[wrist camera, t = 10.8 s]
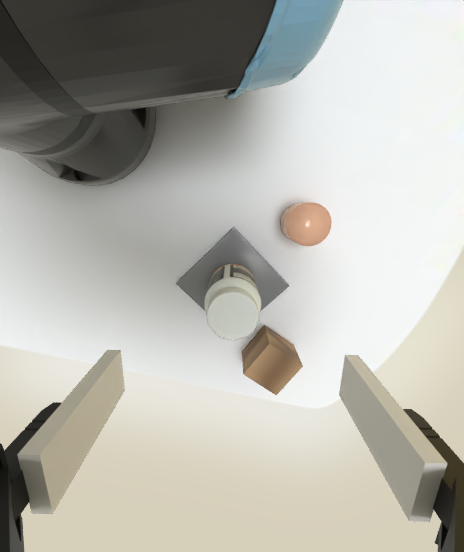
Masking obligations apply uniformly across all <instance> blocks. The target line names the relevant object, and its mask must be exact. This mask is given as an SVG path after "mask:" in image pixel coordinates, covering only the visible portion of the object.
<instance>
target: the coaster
mask: <svg viewBox="0 0 464 552" xmlns="http://www.w3.org/2000/svg"><path fill="white" fill-rule="evenodd" d="M227 264H238V265H241V266H243V267H245V268H247V269H248V270H249V271H250V272H251V274H252V275H253V277H254V279H255V282H256V286H257V289H258V292H259V295H260V298H261V310H262V309H263V308H264V307H266V306H267V305H268V304H269V303H270V302H271V301H273V300H274V299H275V298H276V297H277V296H278V295H279V294H281V293H282V292H283V291H284V290H285V289H286V288H287V287H289V285H288V284H287V283H286V281H285V280H284V279H283V278H282V277H281V276H280V275H279V274H278V273H277V272H276V271H275V270H274V269H273V268H272V267H271V266H270V265H269V264H268V262H267V261H266V260H265V259H264V258H263V257H262V256H261V255H260V254H259V253H258V252H257V251H256V250H255V249H254V248H253V247H252V246H251V245H250V244H249V242H248V241H247V240H246V239H245V238H244V237H243V236H242V235H241V234H240V233H239V232H238V231H237V230H236V229H235V228H233V229H232V230H230V231H229V232H228V233H227V234H226V235H225V236H224V237H223V238H222V239H221V240H220V241H219V242H218V243H217V244H216V245H215V246H214V247H213V248H212V249H211V250H210V251H209V252H208V253H207V254H206V255H205V256H204V257H203V258H202V259H201V260H200V261H199V262H198V263H197V264H196V265H195V266H194V267H193V268H191V269H190V270H189V271H188V272H187V273H186V274H185V275H184V276H183V277H182V278H181V279H180V280H179V281H178V282H177V283H176V284H177V285H178V286H179V287H180V288H181V289H182V290H184V291H185V292H186V293H187V294H188V295H189V296H190V297H191V298H192V299H193V300H194V301H195V302H196V303H197V304H198V305H199V306H201V307H202V308H203V309H204V310H205V306H204V301H205V296H206V292H207V289H208V285H209V282H210V279H211V277H212V275H213V273H214V272H215V271H216V270H217V269H218V268H220V267H221V266H224V265H227ZM261 310H260V311H261Z"/></svg>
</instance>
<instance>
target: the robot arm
mask: <svg viewBox="0 0 464 552" xmlns="http://www.w3.org/2000/svg"><path fill="white" fill-rule="evenodd" d="M342 3H343V0H0V148H3V149H7V150H12V151H16V152H18V153H19V154H21V155H22V156H23V157H25V158H26V159H28V160H29V161H31V162H32V163H33V164H35V165H36V166H38V167H39V168H40V169H42V170H43V171H45V172H47V173H48V174H50V175H52V176H55V177H57V178H59V179H62V180H65V181H68V182H72V183H78V184H85V185H104V184H109V183H112V182H115V181H118V180H120V179H122V178H124V177H125V176H127V175H128V174H130V173H131V172H132V171H133V170H135V169H136V167H137V166H138V165H139V164H140V163H141V162H142V160H143V159H144V157H145V156H146V154H147V152H148V150H149V148H150V145H151V142H152V139H153V135H154V129H155V106H158V105H165V104H172V103H178V102H185V101H192V100H199V99H206V98H212V97H219V96H224V97H225V98H226V99H231V98H235V97H238V96H239V95H241V94H242V93H243V92H245V91H250V90H255V89H260V88H265V87H270V86H275V85H280V84H283V83H286V82H288V81H290V80H292V79H293V78H295V77H296V76H297V75H298V74H299V73H300V72H301V71H302V70H303V69H304V68H305V67H306V65H307V64H308V63H309V62H311V61H312V59H313V58H314V57H315V56H316V54H317V53H318V51H319V49H320V48H321V46H322V45H323V43H324V41H325V39H326V37H327V35H328V33H329V31H330V29H331V27H332V25H333V23H334V21H335V19H336V17H337V15H338V12H339V10H340V8H341V5H342ZM124 391H125V390H124V380H123V370H122V360H121V350H107V351H106V352H105V353H104V355H103V356H102V357H101V358H100V359H99V360H98V362H97V363H96V364H95V365H94V366H93V367H92V369H91V370H90V371H89V372H88V373H87V374H86V375H85V377H84V378H83V379H82V380H81V382H79V384H78V385H77V386H76V387H75V388H74V389H73V391H72V392H71V393H70V394H69V395H68V396H67V397H66V399H65V400H64V401H63V402H62V403H52V404H51V405H49V406H48V407H46V408H45V409H43V410H42V411H41V412H40V413H39V414H38V415H37V416H36V417H35V418H34V419H33V420H32V422H31V423H30V424H29V425H28V426H27V427H26V428H25V430H24V431H22V432H21V433H20V434H19V436H18V437H17V438H16V439H15V440H14V441H13V442H12V443H11V444H10V445H9V446H8V447H7V449H6V450H5V451H4V449H3V446H2V444H0V552H24V541H23V524H22V517H21V513H22V511H23V510H24V508H25V507H26V505H27V504H28V503H30V508H31V512H32V513H38V514H53V512H54V511H55V509H56V507H57V505H58V504H59V502H60V500H61V499H62V497H63V495H64V493H65V492H66V490H67V488H68V487H69V485H70V483H71V481H72V480H73V478H74V476H75V475H76V473H77V471H78V470H79V468H80V466H81V464H82V462H83V461H84V459H85V458H86V456H87V454H88V452H89V451H90V449H91V447H92V446H93V444H94V442H95V440H96V439H97V437H98V435H99V434H100V432H101V430H102V428H103V427H104V425H105V423H106V422H107V420H108V418H109V416H110V415H111V413H112V411H113V410H114V408H115V406H116V404H117V403H118V401H119V399H120V398H121V396H122V394H123V392H124ZM339 396H340V397H341V399H342V401H343V403H344V404H345V406H346V408H347V410H348V412H349V414H350V415H351V417H352V419H353V421H354V423H355V424H356V426H357V428H358V430H359V432H360V433H361V435H362V437H363V439H364V441H365V442H366V444H367V446H368V448H369V450H370V452H371V453H372V455H373V457H374V459H375V460H376V462H377V464H378V466H379V468H380V469H381V471H382V473H383V475H384V477H385V479H386V480H387V482H388V484H389V486H390V488H391V489H392V491H393V493H394V495H395V497H396V498H397V500H398V502H399V504H400V506H401V507H402V509H403V511H404V513H405V515H406V516H407V518H408V520H409V521H430V519H431V516H432V513H433V510H434V511H435V512H436V514H437V515H438V517H439V518H440V520H441V521H442V522H441V525H440V528H439V531H438V535H437V538H436V541H435V543H436V544H438V552H464V463H463V462H462V461H461V460H460V459H459V457H458V456H457V455H456V454H455V453H454V452H453V451H452V450H451V448H450V447H449V446H448V445H447V444H446V443H445V442H444V441H443V439H441V438H440V436H439V435H438V434H437V433H436V432H435V430H433V429H432V427H431V426H430V425H429V424H428V423H427V422H426V420H425V419H424V418H422V417H421V416H420V415H419V414H417V413H416V412H414V411H413V410H412V409H402V408H401V407H400V406H399V404H398V403H397V402H396V400H395V399H394V398H393V397H392V396H391V394H390V393H389V392H388V391H387V389H386V388H385V387H384V386H383V385H382V383H381V382H380V381H379V380H378V379H377V378H376V376H375V375H374V374H373V373H372V371H371V370H370V369H369V368H368V366H367V365H366V364H365V363H364V362H363V360H362V359H361V358H360V357H359V356H358V355H345V360H344V366H343V373H342V379H341V386H340V393H339Z"/></svg>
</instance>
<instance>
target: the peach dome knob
mask: <svg viewBox="0 0 464 552" xmlns="http://www.w3.org/2000/svg"><path fill="white" fill-rule="evenodd" d="M330 228H331V217H330V214H329V212H328V211H327V210H326V208H324V207H323V206H322V205H320V204H317V203H298V204H294V205H292V206H290V207H288V208H287V209H286V210H285V212H284V213H283V215H282V218H281V229H282V231H283V233H284V234H285V236H287V237H288V238H289V239H291V240H293V241H295V242H297V243H298V244H300V245H303V246H313V245H316V244H319V243H320V242H322V241H323V240H324V239H325V238H326V237H327V235H328V234H329V231H330Z"/></svg>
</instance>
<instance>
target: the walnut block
mask: <svg viewBox="0 0 464 552" xmlns="http://www.w3.org/2000/svg"><path fill="white" fill-rule="evenodd" d="M242 358H243V374H244V375H245V376H247V377H249V378H250V379H252V380H253V381H255V382H256V383H258V384H259V385H261V386H263V387H264V388H266V389H267V390H269V391H270V392H272V393H274V394H275V395H277V394H278V393H279V392H280V391H281V390H282V388H283V387H284V386H285V385H286V384H287V383H288V382H289V381H290V380H291V379H292V378H293V376H294V375H295V374H296V373H297V372H298V371H299V370H300V369H301V368H302V367H303V366H302V363H301V361H300V359H299V356H298V354H297V352H296V349H295V347H294V345H293V344H292V343H290V342H289V341H287V340H286V339H284V338H283V337H281V336H280V335H278V334H277V333H276V332H274V331H273V330H271V329H270V328H268V327H267V326H265V325H264V326H263V327H262V329H261V330H260V331H259V332H258V333H257V335H256V336H255V337H254V338H253V339H252V341H251V342H250V343H249V344H248V345H247V347H246V348H245V349H244V350H243V351H242Z"/></svg>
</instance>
